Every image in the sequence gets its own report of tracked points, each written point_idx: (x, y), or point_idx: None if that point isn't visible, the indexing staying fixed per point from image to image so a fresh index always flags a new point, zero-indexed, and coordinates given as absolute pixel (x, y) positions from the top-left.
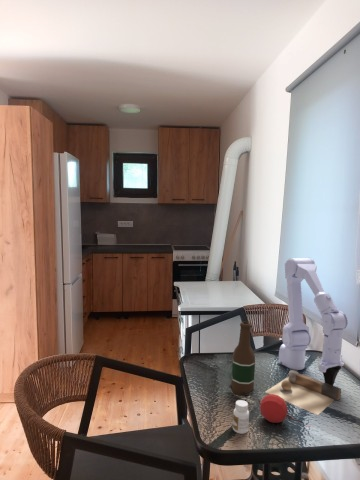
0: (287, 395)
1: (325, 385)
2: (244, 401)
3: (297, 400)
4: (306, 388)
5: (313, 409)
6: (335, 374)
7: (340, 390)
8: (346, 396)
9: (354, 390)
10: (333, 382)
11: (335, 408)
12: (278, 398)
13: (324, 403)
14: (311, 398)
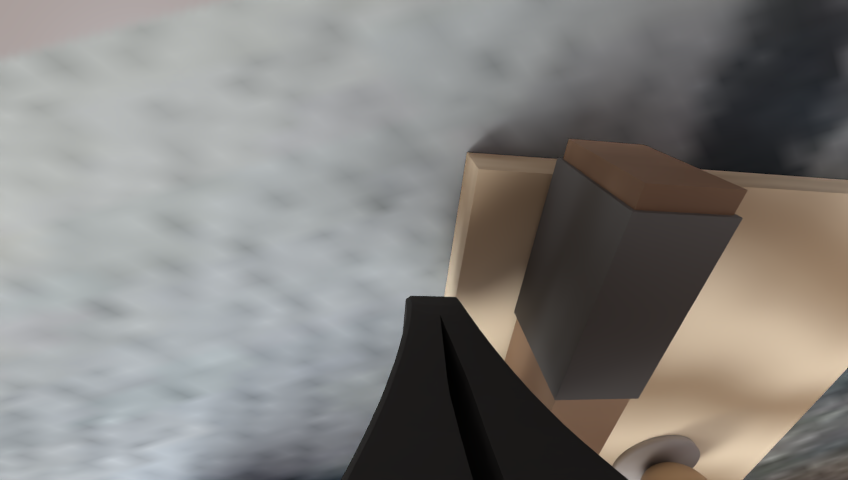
0: (719, 434)
1: (644, 367)
2: None
3: (769, 379)
4: None
5: None
6: (544, 478)
7: (659, 178)
8: (318, 108)
9: (35, 67)
10: (449, 333)
11: (679, 126)
12: None
13: (752, 230)
14: (698, 332)
